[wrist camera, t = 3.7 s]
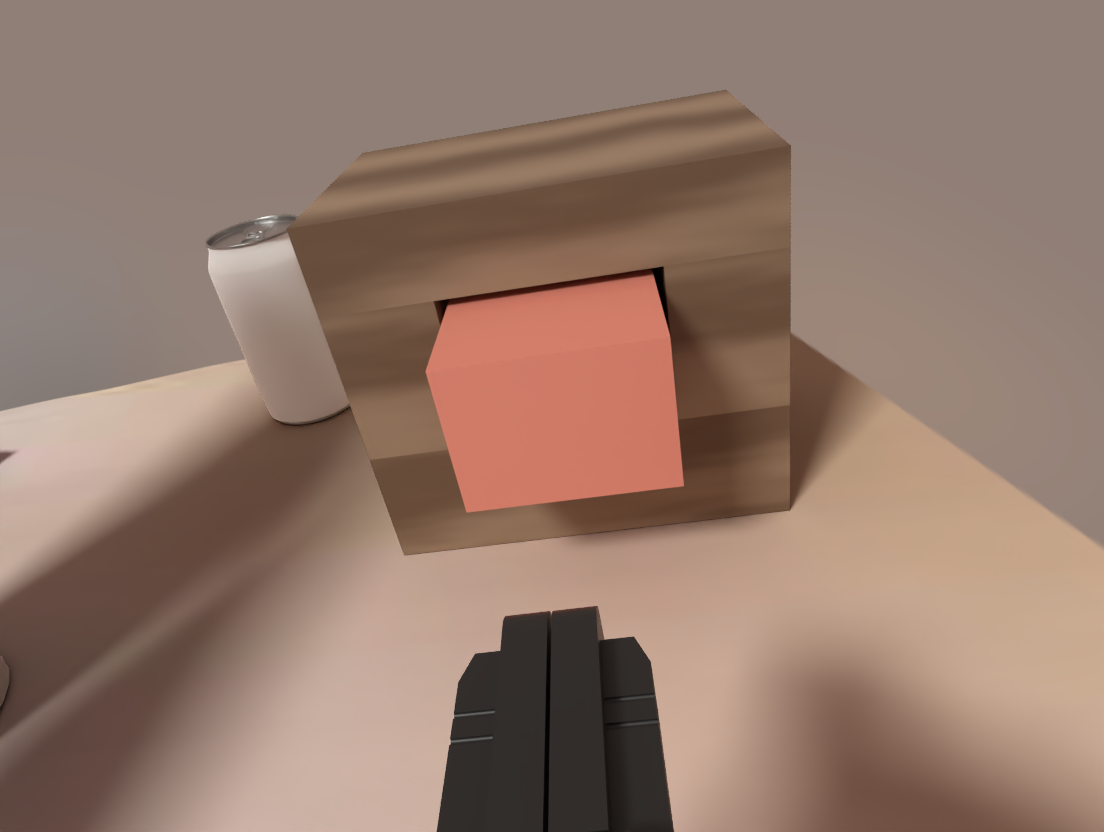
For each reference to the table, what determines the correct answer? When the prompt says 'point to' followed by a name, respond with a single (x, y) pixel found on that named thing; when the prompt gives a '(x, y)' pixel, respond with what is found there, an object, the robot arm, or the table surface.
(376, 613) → the table surface
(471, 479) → the pink rectangular block
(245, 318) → the can
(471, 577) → the table surface
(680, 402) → the switch box
